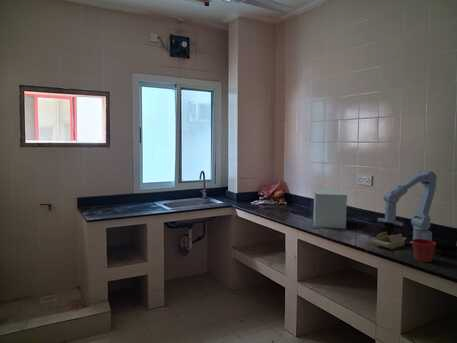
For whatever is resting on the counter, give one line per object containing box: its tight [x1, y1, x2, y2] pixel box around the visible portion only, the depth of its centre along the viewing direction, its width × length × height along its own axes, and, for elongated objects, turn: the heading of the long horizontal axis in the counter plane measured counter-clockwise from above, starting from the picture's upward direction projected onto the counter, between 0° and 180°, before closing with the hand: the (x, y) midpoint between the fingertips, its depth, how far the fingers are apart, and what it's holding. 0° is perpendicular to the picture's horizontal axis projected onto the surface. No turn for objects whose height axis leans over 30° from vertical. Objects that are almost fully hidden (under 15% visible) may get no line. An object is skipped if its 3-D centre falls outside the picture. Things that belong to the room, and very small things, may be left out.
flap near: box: [389, 232, 404, 243], centre depth 199 cm, size 4×12×1 cm
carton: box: [370, 234, 407, 250], centre depth 202 cm, size 11×22×3 cm, turn 125°
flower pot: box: [411, 238, 437, 263], centre depth 177 cm, size 11×11×10 cm
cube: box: [312, 188, 348, 229], centre depth 254 cm, size 25×21×24 cm
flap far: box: [374, 231, 388, 240], centre depth 206 cm, size 4×12×1 cm
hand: (389, 235), depth 202 cm, fingers closed
